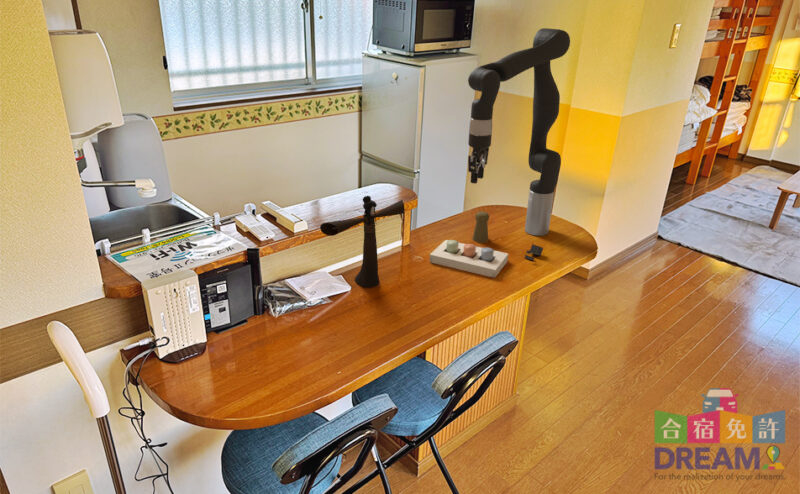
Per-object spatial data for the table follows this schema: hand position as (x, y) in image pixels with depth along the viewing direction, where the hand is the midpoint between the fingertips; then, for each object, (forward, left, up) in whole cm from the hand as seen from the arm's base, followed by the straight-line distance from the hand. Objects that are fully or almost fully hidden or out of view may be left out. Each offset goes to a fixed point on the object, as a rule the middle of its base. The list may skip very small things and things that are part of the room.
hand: (476, 180), depth 189 cm
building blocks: (-7, +21, -28) cm, 35 cm away
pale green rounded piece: (+8, -5, -25) cm, 27 cm away
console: (+8, +2, -27) cm, 29 cm away
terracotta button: (+8, +2, -25) cm, 27 cm away
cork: (-12, -1, -28) cm, 30 cm away
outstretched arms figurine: (+38, -22, -28) cm, 52 cm away
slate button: (+8, +8, -25) cm, 28 cm away
